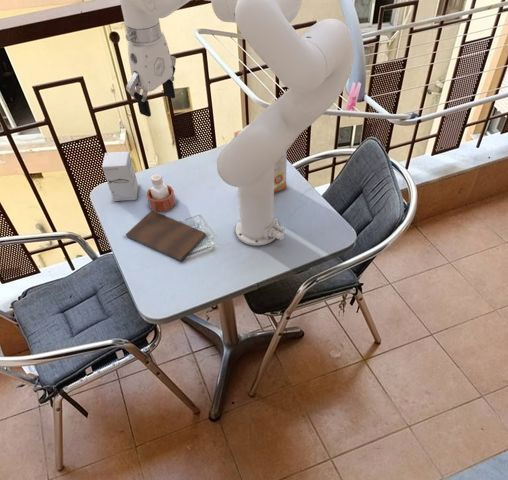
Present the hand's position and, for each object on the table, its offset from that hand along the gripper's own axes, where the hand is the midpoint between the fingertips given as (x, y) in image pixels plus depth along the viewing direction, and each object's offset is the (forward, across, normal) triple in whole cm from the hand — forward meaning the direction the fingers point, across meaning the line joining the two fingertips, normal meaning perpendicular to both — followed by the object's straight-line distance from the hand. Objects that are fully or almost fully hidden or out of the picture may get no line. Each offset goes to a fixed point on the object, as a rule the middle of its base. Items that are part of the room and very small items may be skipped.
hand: (158, 105), depth 117 cm
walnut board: (+31, -13, -7) cm, 34 cm away
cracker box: (+30, +18, -20) cm, 41 cm away
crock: (+31, -2, +4) cm, 31 cm away
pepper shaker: (+31, -2, +4) cm, 31 cm away
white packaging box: (+31, -5, +16) cm, 36 cm away
